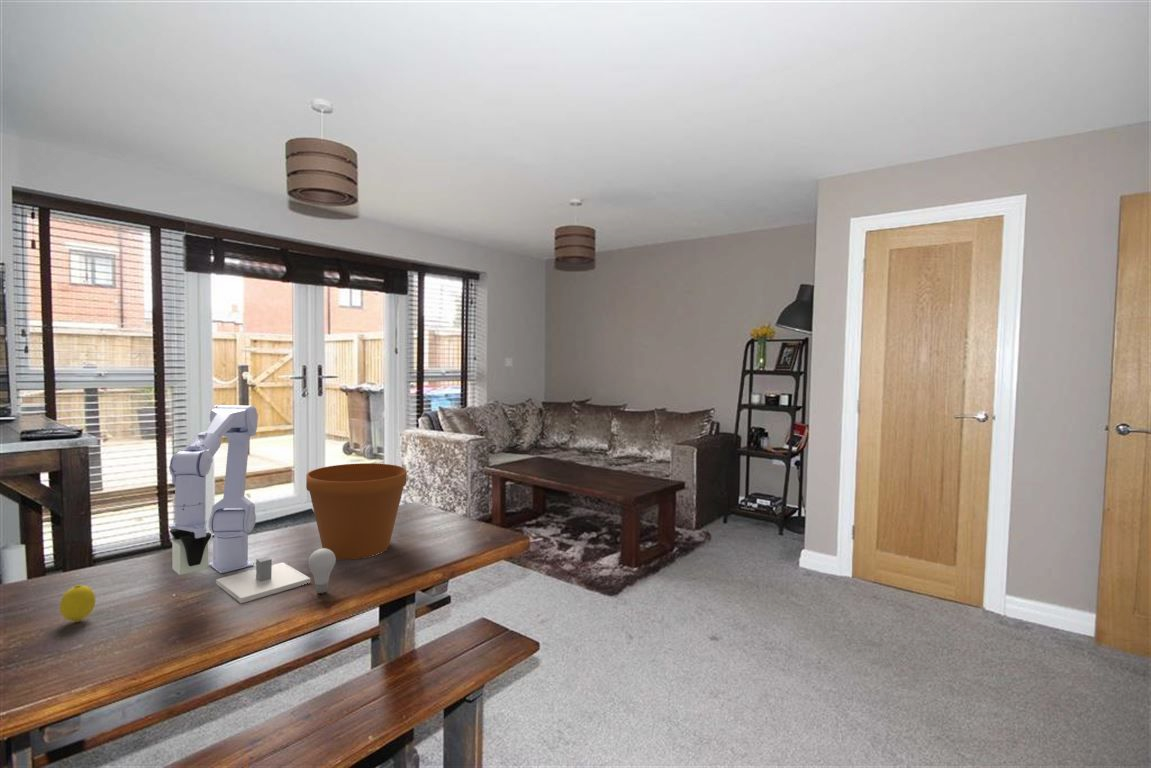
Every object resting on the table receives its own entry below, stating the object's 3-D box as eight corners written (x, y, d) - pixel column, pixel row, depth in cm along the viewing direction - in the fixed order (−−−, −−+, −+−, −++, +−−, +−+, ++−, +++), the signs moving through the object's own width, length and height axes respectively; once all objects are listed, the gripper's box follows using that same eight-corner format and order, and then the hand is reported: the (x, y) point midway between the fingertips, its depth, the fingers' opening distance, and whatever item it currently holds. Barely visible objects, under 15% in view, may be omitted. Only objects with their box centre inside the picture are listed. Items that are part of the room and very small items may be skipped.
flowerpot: (344, 573, 145) (346, 486, 144) (285, 552, 159) (286, 473, 158) (424, 545, 168) (426, 470, 168) (366, 528, 183) (367, 460, 182)
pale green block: (172, 568, 124) (172, 540, 124) (199, 562, 128) (199, 534, 128) (179, 575, 120) (179, 545, 120) (207, 568, 125) (207, 540, 124)
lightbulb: (340, 591, 133) (341, 548, 133) (317, 600, 128) (318, 555, 128) (325, 586, 136) (325, 543, 136) (302, 594, 131) (302, 549, 131)
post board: (216, 584, 136) (216, 559, 135) (282, 566, 148) (283, 544, 148) (241, 603, 126) (241, 577, 125) (310, 582, 138) (310, 559, 138)
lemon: (59, 621, 115) (59, 584, 114) (94, 613, 119) (94, 577, 118) (60, 631, 111) (60, 592, 110) (96, 622, 115) (96, 585, 114)
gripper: (159, 500, 125) (159, 558, 126) (179, 512, 116) (179, 575, 116) (195, 495, 131) (195, 550, 131) (217, 506, 121) (216, 566, 122)
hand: (190, 561), depth 124 cm, fingers closed on pale green block, 5 cm apart
